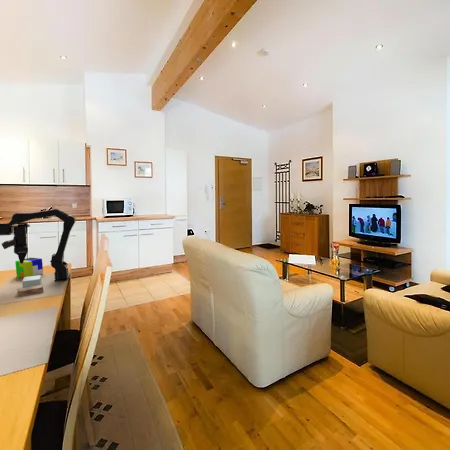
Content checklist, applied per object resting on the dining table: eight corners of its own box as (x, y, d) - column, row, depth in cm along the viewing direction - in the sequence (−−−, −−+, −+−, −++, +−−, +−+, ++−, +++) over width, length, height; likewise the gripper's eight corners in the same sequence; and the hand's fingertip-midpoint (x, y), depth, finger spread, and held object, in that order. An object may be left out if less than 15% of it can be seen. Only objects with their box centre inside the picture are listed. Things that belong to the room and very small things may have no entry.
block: (41, 283, 164) (41, 275, 164) (40, 287, 156) (39, 279, 156) (25, 285, 160) (24, 277, 160) (23, 290, 153) (22, 281, 152)
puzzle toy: (43, 273, 183) (41, 258, 182) (28, 278, 174) (26, 262, 173) (32, 272, 187) (30, 257, 185) (16, 276, 177) (15, 261, 176)
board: (42, 290, 153) (42, 284, 153) (43, 292, 149) (43, 287, 149) (17, 294, 147) (17, 288, 146) (17, 297, 143) (17, 291, 142)
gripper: (2, 233, 163) (4, 260, 165) (1, 238, 148) (3, 267, 150) (26, 232, 170) (27, 258, 171) (27, 236, 155) (28, 264, 156)
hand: (21, 261), depth 162 cm, fingers open, 9 cm apart
